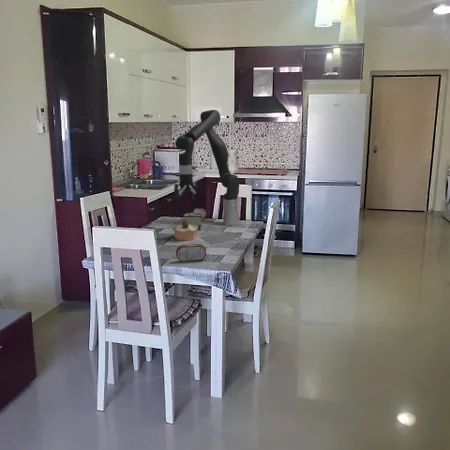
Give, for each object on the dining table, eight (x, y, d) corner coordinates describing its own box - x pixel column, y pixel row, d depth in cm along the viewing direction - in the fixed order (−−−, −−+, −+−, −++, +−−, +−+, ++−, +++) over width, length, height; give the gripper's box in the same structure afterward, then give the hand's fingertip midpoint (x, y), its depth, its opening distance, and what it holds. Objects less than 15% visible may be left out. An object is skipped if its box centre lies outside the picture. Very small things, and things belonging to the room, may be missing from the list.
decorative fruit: (208, 221, 314) (208, 206, 312) (202, 223, 307) (202, 208, 305) (197, 219, 319) (197, 205, 317) (190, 221, 312) (190, 207, 310)
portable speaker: (206, 259, 233) (205, 243, 231) (206, 261, 230) (206, 244, 228) (176, 260, 231) (175, 244, 229) (176, 262, 228) (176, 246, 226)
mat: (224, 234, 280) (224, 233, 280) (237, 241, 265) (237, 240, 265) (198, 237, 273) (198, 236, 272) (211, 244, 258) (211, 244, 258)
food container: (204, 228, 295) (204, 212, 292) (202, 230, 289) (202, 215, 286) (185, 227, 296) (184, 212, 294) (183, 230, 290) (183, 214, 288)
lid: (192, 224, 279) (192, 216, 278) (202, 230, 266) (202, 222, 265) (168, 227, 273) (168, 219, 272) (178, 233, 260) (178, 225, 259)
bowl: (191, 235, 279) (190, 225, 277) (198, 239, 269) (198, 229, 267) (172, 237, 274) (172, 227, 272) (180, 242, 263) (179, 232, 262)
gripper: (194, 171, 270) (195, 198, 274) (171, 173, 264) (173, 200, 268) (199, 172, 263) (200, 200, 267) (176, 174, 257) (177, 203, 261)
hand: (186, 200), depth 268 cm, fingers open, 8 cm apart
